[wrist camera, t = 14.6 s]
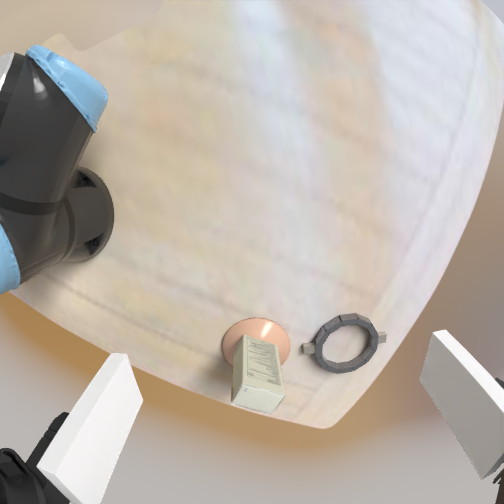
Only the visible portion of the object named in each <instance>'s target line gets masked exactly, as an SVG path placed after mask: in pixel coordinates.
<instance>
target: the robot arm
mask: <svg viewBox="0 0 504 504" xmlns="http://www.w3.org/2000/svg"><path fill="white" fill-rule="evenodd" d="M107 101H108V94H107V91H106V89H105V88H104V86H103V85H102V84H101V83H100V82H99V81H97V80H96V79H95V78H94V77H92V76H91V75H90V74H88V73H87V72H85V71H84V70H83V69H81V68H80V67H78V66H77V65H75V64H73V63H72V62H70V61H69V60H67V59H65V58H64V57H62V56H58V55H57V54H56V53H54V52H52V51H50V50H49V49H47V48H45V47H43V46H40V45H33V46H32V47H31V48H30V49H28V50H27V51H26V53H25V56H23V55H21V54H18V53H15V52H12V51H11V52H9V53H7V54H5V55H3V56H1V57H0V294H2V293H4V292H6V291H8V290H11V289H16V288H17V287H18V286H19V285H20V284H22V283H24V282H25V281H27V280H29V279H30V278H32V277H34V276H35V275H37V274H39V273H40V272H42V271H44V270H45V269H47V268H49V267H51V266H53V265H54V264H56V263H58V262H81V261H85V260H87V259H89V258H91V257H93V256H94V255H96V254H97V253H99V252H100V251H101V250H102V249H103V248H104V247H105V245H106V244H107V242H108V240H109V238H110V236H111V233H112V229H113V223H114V208H113V202H112V199H111V195H110V193H109V191H108V189H107V187H106V185H105V183H104V182H103V181H102V180H101V178H100V177H99V176H98V175H96V174H95V173H94V172H92V171H90V170H88V169H85V168H80V167H77V166H78V164H79V162H80V160H81V157H82V155H83V153H84V151H85V149H86V147H87V144H88V142H89V140H90V138H91V136H92V134H93V133H95V132H96V129H97V128H96V125H97V123H98V121H99V119H100V117H101V115H102V113H103V111H104V109H105V107H106V105H107ZM419 380H420V382H421V384H422V385H423V387H424V388H425V390H426V391H427V392H428V394H429V395H430V397H431V398H432V400H433V401H434V403H435V405H436V406H437V407H438V409H439V411H440V412H441V414H442V415H443V417H444V418H445V420H446V422H447V423H448V425H449V426H450V428H451V430H452V431H453V433H454V434H455V436H456V438H457V439H458V441H459V442H460V444H461V446H462V447H463V449H464V451H465V452H466V454H467V456H468V458H469V459H470V461H471V463H472V464H473V466H474V468H475V470H476V471H477V473H478V474H479V477H480V479H481V480H482V479H483V478H485V477H487V476H489V475H490V474H492V473H493V472H495V471H496V470H497V469H498V468H499V467H500V465H501V464H502V463H503V462H504V382H503V381H502V380H500V379H498V378H495V379H493V378H492V376H491V375H490V374H489V373H488V372H487V371H486V370H485V369H484V368H483V367H482V366H481V365H480V364H479V363H478V362H477V361H476V360H475V359H474V358H473V357H472V355H470V353H469V352H468V351H467V350H466V349H465V348H464V347H463V346H461V345H460V344H459V342H458V341H457V340H456V339H454V338H453V337H452V336H451V335H450V334H449V333H448V332H447V331H446V330H441V331H437V332H433V333H432V336H431V340H430V344H429V348H428V352H427V355H426V359H425V363H424V366H423V370H422V373H421V376H420V379H419ZM142 402H143V399H142V396H141V394H140V391H139V388H138V386H137V383H136V380H135V377H134V374H133V371H132V368H131V365H130V362H129V359H128V356H127V354H123V353H111V354H110V356H109V357H108V358H107V360H106V361H105V363H104V364H103V365H102V367H101V368H100V370H99V371H98V373H97V374H96V375H95V377H94V378H93V380H92V381H91V383H90V384H89V385H88V387H87V389H86V390H85V391H84V393H83V394H82V396H81V397H80V399H79V400H78V402H77V403H76V405H75V406H74V408H73V409H72V411H71V412H70V413H66V412H63V413H62V414H60V415H59V416H58V417H56V418H55V419H54V420H53V422H52V423H51V425H50V426H49V428H48V430H47V431H46V432H45V434H44V437H42V438H41V440H40V441H39V443H38V444H37V446H36V448H35V449H34V451H33V452H32V454H31V455H30V457H29V459H28V460H27V461H26V463H24V461H23V460H22V459H21V458H20V456H19V455H18V454H17V453H16V452H15V451H14V450H12V449H10V448H2V449H0V504H69V502H71V503H72V504H100V503H101V500H102V498H103V495H104V492H105V490H106V487H107V485H108V482H109V480H110V477H111V475H112V472H113V470H114V467H115V465H116V463H117V460H118V458H119V455H120V453H121V451H122V448H123V446H124V443H125V441H126V438H127V436H128V434H129V431H130V429H131V427H132V425H133V422H134V420H135V418H136V416H137V413H138V411H139V409H140V406H141V404H142ZM500 477H501V480H500V481H499V483H498V484H500V486H499V491H498V495H497V500H496V503H495V504H504V469H503V470H502V471H501V472H500V473H499V474H498V475H497V477H496V478H495V479H494V481H493V483H496V482H497V481H498V479H499V478H500Z"/></svg>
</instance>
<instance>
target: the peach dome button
mask: <svg viewBox="0 0 504 504" xmlns="http://www.w3.org/2000/svg"><path fill="white" fill-rule="evenodd" d="M243 334H245V335H248V336H251V337H254V338H257V339H260V340H263V341H266V342H269V343H272V344H275V345H277V346H278V352H279V358H280V364H281V365H282V364H283V363H284V362H285V361H286V359H287V357H288V355H289V352H290V341H289V337H288V335H287V333H286V332H285V330H284V329H283V328H282V327H281V326H280V325H279V324H277V323H275V322H273V321H271V320H268V319H264V318H249V319H245V320H242V321H240V322H238V323H236V324H234V325H233V326H232V327H231V328H230V329H229V330H228V331H227V333H226V334H225V337H224V340H223V353H224V356H225V358H226V360H227V361H228V362H229V364H230V365H232V366H233V359H234V352H235V349H236V347H237V345H238V343H239V341H240V339H241V338H242V336H243Z"/></svg>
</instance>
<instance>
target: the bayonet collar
mask: <svg viewBox="0 0 504 504" xmlns="http://www.w3.org/2000/svg"><path fill="white" fill-rule="evenodd" d="M353 324H358V325H360V326H363V327H365V328H367V329H368V330H369V332H370V335H369V344H368V345H367V347H366V348H365V350H364V351H363V352H362V354H361V355H359V356H358V357H356V358H354V359H353V360H351V361H348V362H342V363H335V362H332V361H329V360H326V358H325V357H324V356H323V354H322V345H323V344H324V342H325V341H326V339H327V338H328V336H329V335H330V334H331V333H332V332H334V331H335V330H337V329H339V328H340V327H342V326H346V325H353ZM386 335H387V334H386V333H385V332H380V333H377V331H376V330H375V328H374V326H373V324H372V323H371V321H370V320H369V319H368V318H366V317H363V316H361V315H358V314H355V313H353V314H345V315H339V317H338V316H337V317H335V318H334V319H332V320H330V321H329V322H327V323H326V324H324V326H322V328H321V329H320V331H319V333H318V334H317V336H316V337H315V340H314V342H312V343H304V344H303V353H304V355H305V354H314V353H315V357H316V360H317V361H318V362H319V364H320V365H321V366H322V367H323V369H325V370H327V371H330V372H334V373H338V374H340V373H346V372H352V371H353V370H354V371H355V370H356V369H358V368H360V367H361V366H363V365H364V364H366V363H367V362H368V361H369V360H370V359H371V357H372V356H373V354H374V353H375V352H376V349H377V345H378V344H379V343H384V342H386Z"/></svg>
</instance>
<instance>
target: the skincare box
mask: <svg viewBox="0 0 504 504" xmlns="http://www.w3.org/2000/svg"><path fill="white" fill-rule="evenodd" d="M285 396H286V395H285V389H284V383H283V376H282V370H281V364H280V358H279V352H278V346H277V345H275V344H272V343H269V342H266V341H263V340H260V339H257V338H254V337H251V336H248V335H245V334H243V336H242V338H241V339H240V341H239V343H238V345H237V347H236V349H235V352H234V359H233V374H232V389H231V404H233V405H236V406H239V407H243V408H246V409H250V410H254V411H258V412H262V413H267V414H273V412H274V411H275V410H276V409H277V407H278V406H279V405H280V403H281V402H282V401H283V399H284V398H285Z"/></svg>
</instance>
